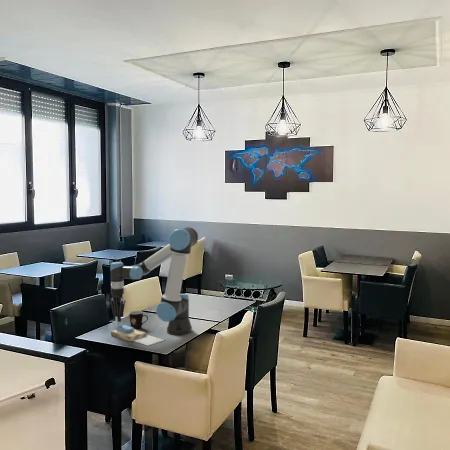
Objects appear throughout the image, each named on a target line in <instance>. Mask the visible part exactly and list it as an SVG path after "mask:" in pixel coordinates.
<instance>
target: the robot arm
mask: <svg viewBox="0 0 450 450" xmlns="http://www.w3.org/2000/svg"><path fill="white" fill-rule="evenodd" d="M198 241H199V235H198V232H197V230H196V229H195V228H193V227H187V226H186V227H180V228H177V229H174V230H173V231H172V232H171V233H170V235H169V237H168V244H167V245H165V246H164V247H162V248H161V249H160V250H158V251H156V252H155V253H154V254H152V255H151V256H149V257H147V259H145V260H143V261H142V262H140V263H138V264H134V265H130V266H129V265H124V263H123V262H122V261H115V262H114V261H113V262H111V263H110V269H109V271H110V295H111V298H109V301H110V304H111V310H112V315H114V317H115V318H114V319H115V321H114V322H115V328H116V327H120V326H122V316H124V313H125V312H124V311H125V303H126V300H124V299H123V298H124V297H123V295H124V294H125V291H124V290H125V289H124V287H125V282H124V281H125V280H124V279H127V280H128V279H129V280H141V279H142V277H143V276H146V275H148V274H149V273H150V272H151V271H153V270H154V269H155V268H157V267H159V266H160V265H162V264H163V263H165V262H166V261H168V260H170V263H169V269H168V272H167V273H168V274H167V279H166V285H165V291H164V293H163V294H162V295H161V298H160V303H158V305H157V306H156V308H155V309H156V312H155V313H156V315H157V317H158V318H159V320H161V321H162V322H165V323H167V322H168V324H167V327H166V333H168V334H170V335H173V336H175V335H176V336H179V335H186V334H190V333H192V331H193V327H192V324H191V321H190V316H189V315H190V309H189V308H190V302H189V301H190V299H189V295H188V293H187V294H186V293H181V289H182V285H183V279H184V273H185V268H186V263H187V258H188V256H189V255H190V254H191V252H192V251H191V250H192V247H194V246H195V245H196V244H197V243H198Z"/></svg>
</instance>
